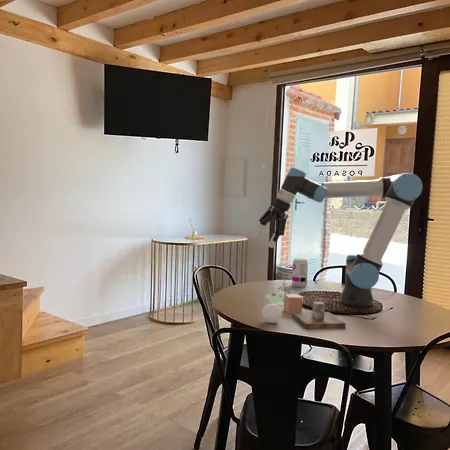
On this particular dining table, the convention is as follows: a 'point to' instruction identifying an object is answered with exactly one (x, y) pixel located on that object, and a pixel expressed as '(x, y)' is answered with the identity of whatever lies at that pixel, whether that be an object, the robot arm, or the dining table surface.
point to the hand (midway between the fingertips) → (263, 242)
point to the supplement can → (300, 272)
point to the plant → (278, 296)
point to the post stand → (318, 318)
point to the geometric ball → (271, 313)
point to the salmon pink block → (292, 303)
